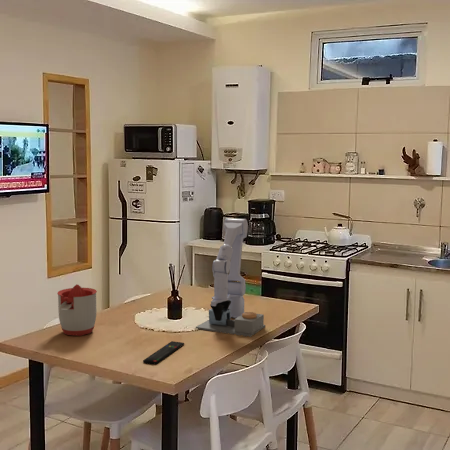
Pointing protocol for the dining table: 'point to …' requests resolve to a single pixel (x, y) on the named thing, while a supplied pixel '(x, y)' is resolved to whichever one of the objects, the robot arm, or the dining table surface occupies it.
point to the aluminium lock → (224, 317)
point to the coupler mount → (238, 325)
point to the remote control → (163, 353)
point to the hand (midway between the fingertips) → (220, 318)
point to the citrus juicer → (77, 310)
